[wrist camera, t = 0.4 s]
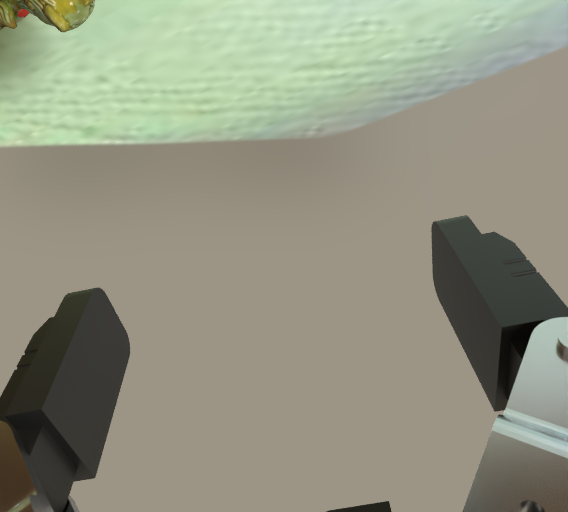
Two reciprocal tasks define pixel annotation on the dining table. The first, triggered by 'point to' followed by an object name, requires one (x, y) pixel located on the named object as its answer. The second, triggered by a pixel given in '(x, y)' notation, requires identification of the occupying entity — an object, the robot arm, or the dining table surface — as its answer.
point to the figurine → (47, 12)
